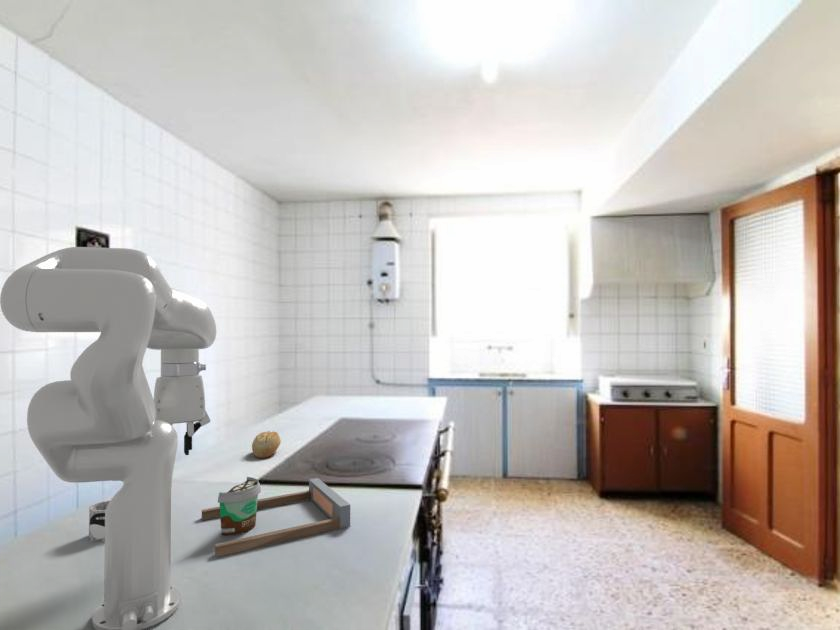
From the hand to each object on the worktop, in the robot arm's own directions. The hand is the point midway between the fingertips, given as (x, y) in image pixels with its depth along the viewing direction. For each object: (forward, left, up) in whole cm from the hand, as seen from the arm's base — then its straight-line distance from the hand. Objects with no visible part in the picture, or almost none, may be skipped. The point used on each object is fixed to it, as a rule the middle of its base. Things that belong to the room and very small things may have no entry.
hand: (179, 454), depth 106 cm
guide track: (0, -20, -19) cm, 27 cm away
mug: (+12, +12, -19) cm, 26 cm away
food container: (0, -14, -19) cm, 24 cm away
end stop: (0, -34, -19) cm, 39 cm away
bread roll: (+63, -34, -19) cm, 74 cm away
